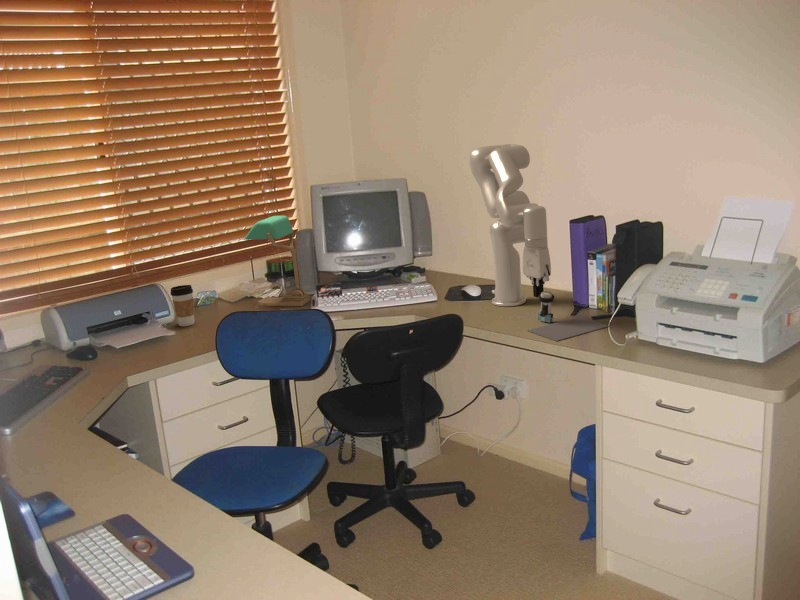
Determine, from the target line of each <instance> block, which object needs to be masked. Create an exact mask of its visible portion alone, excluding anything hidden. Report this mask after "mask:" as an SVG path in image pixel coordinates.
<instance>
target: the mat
mask: <svg viewBox="0 0 800 600" xmlns="http://www.w3.org/2000/svg"><path fill="white" fill-rule="evenodd" d="M608 327H610V325H607V324H605V323H604V324H603V323H601V322H597V321H594V320H592V319H588V318H584V317H581V316H576V317H573V318H568V319H565V320H561V321H558V322H553V323H549V324H545V325H542V326H539V327H535V328H532V329H531V328H530V329H528V330H527V332H529V333H531V334H535V335H538V336H540V337H543V338H546V339H549V340H551V341H553V342H561V341H564V340H567V339H571V338H574V337H577V336H581V335H584V334H588V333H591V332H595V331H598V330H599V331H600V330H602V329H606V328H608Z"/></svg>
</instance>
